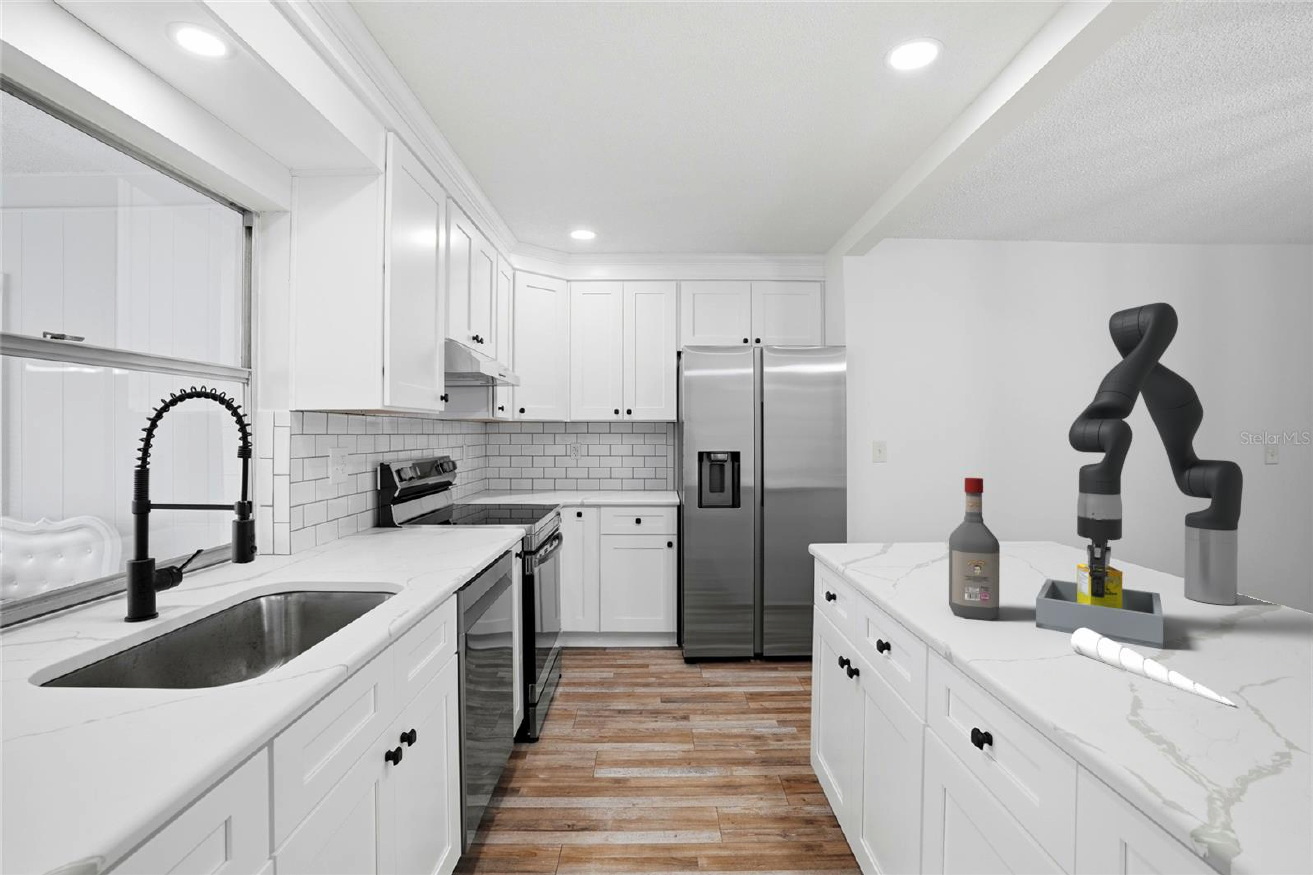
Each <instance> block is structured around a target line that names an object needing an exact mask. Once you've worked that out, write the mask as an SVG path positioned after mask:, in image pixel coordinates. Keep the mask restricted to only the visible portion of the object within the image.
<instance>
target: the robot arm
mask: <svg viewBox="0 0 1313 875" xmlns="http://www.w3.org/2000/svg"><path fill="white" fill-rule="evenodd" d="M1178 326H1179V319H1178V314H1177V312H1176V310H1175V309H1174V306H1172V305H1171V304H1170V303H1167V302H1155V303H1154V302H1153V303H1150V304H1145V305H1140V306H1136V307H1135V306H1134V307H1132V308H1127V309H1123V310H1119V311H1116V312H1114V313H1112V315H1111V317H1109V320H1108V330H1109V334H1110V338H1111V340H1112V343H1113V345H1114V346H1115V348H1116V350H1117V352H1118V353H1119V355H1120V356H1121V358H1122V360H1121V361H1120V362H1119V363H1117V364H1116V365H1115V366H1113V368H1112V369H1111V370H1109V371H1108V373H1106V375H1104V377H1103V378H1102V380H1101V382H1100V384H1099V386H1098V389H1097V390H1096V394H1095V396H1094V398H1093V400H1092V401H1091V402H1090V403H1089V404H1088V406H1086V408H1085V409H1084V410H1083V411H1082V412H1081V413H1080V415H1078V417H1077V418H1076V419H1075V420H1074V421H1073V423H1072V424H1071V426H1070V428H1069V432H1068V441H1069V444H1070V446H1071V447H1072V449H1074V450H1075V451H1077V452H1079V453H1088V454H1089V453H1093V454H1095V453H1097V454H1099V453H1100V454H1105V455H1104V457H1103V458H1102V460H1101V461H1100V462H1097V463H1089V464H1085V465H1082V466H1081V467H1080V468H1079V472H1078V496H1077V497H1078V498H1077V508H1076V509H1077V511H1076V516H1077V517H1076V519H1077V520H1076V533H1077V536H1079V537H1080V538H1085V539H1089V540H1091V544H1087V546H1086V555H1087V564H1088V567H1089V568H1090V572H1089V575H1090V578H1091V595H1092V596H1093V597H1099V598H1104V596H1105V578H1106V574H1105V573H1106V570H1108V569H1109V566H1110V560H1111V559H1110V558H1111V557H1112V546H1109V545H1108V543H1109V541H1120V540H1121V539H1122V538H1123V502H1122V495H1121V493H1122V491H1121V490H1122V488H1121V487H1122V482H1121V481H1122V471H1123V468H1124V464H1125V462H1126V458H1127V455H1128V453H1129V450H1130V448H1131V445H1132V441H1133V430H1132V428H1131V425H1130V424H1129V423H1128V422H1127V421H1125V419H1127V418H1129V416H1130V415H1131V413H1132V412H1133V410H1134V408H1135V406H1136V405H1135V404H1136V402H1137V400H1138V397H1139V395H1140V394H1141V396H1142V399H1143V402H1144V404H1145V407H1146V409H1147V411H1148V413H1149V416H1150V418H1151V420H1152V422H1153V424H1154V425H1155V428H1156V430H1157V433H1158V434H1159V436H1160V439H1161V441H1162V444H1163V446H1164V449H1165V451H1166V455H1167V458H1168V461H1169V465H1170V468H1171V471H1172V475H1173V478H1174V480H1175V484H1176V486H1177V487H1178V489H1179V491H1180V492H1181V494H1183V495H1185V496H1188V497H1192V498H1197V499H1198V498H1199V499H1211V500H1210V505H1209V506H1208V507H1207V508H1205V509H1203V510H1200V511H1193V512H1192V511H1191V512H1189V513H1186V515H1185V518H1184V578H1183V580H1184V581H1183V582H1184V586H1183V588H1184V589H1183V596H1184V597H1185V598H1187V599H1189V600H1193V601H1197V602H1200V603H1201V602H1202V603H1207V604H1214V605H1223V606H1224V605H1226V606H1227V605H1228V606H1229V605H1232V606H1233V605H1236V604H1237V603H1238V549H1239V548H1238V544H1239V543H1238V539H1239V538H1238V534H1239V533H1238V532H1239V530H1238V529H1239V521H1240V518H1241V510H1242V497H1243V496H1242V495H1243V489H1244V488H1243V486H1244V476H1243V471H1242V469H1241V467H1240V465H1239V464H1238V463H1236V462H1235V461H1232V460H1220V459H1200V458H1199V457H1198V456H1197V454H1196V452H1195V450H1194V447H1193V440H1194V438H1195V435H1196V434H1197V432H1198V430H1199V428H1200V426H1201V424H1202V422H1203V419H1204V408H1203V405H1202V404H1201V401H1200V399H1199V398H1200V397H1199V396H1198V394H1197V392H1196V389H1195V388H1194V386H1193V385H1192V383H1191V382H1189V380H1187V379H1185V377H1182V376H1181V375H1180V374H1178V373H1177V372H1175V371H1173V370H1171V369H1170V368H1168V367H1167V366H1166V365H1164V364H1162V363H1161V362H1159V361H1160V359H1161V358H1162V356H1163V355H1164V354H1165V352H1166V350H1167V349H1168V348H1169V346H1170V345H1171V343H1172V341H1173V340H1174V338H1175V336H1176V334H1177V332H1178ZM1094 569H1102V572H1099V571H1094Z"/></svg>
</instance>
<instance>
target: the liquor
mask: <svg viewBox="0 0 1313 875" xmlns="http://www.w3.org/2000/svg"><path fill="white" fill-rule="evenodd" d="M964 493H965V511H964V512H965V515H964V518H963V521H962V522H961V523H960V524H959V525H958V526H957V527H956V528H955V529H954V530H953V531H952V532H951V533H950V536H949V538H948V606H949V608H950V609H951V612H952V614H953V615H954V616H956V617H959V618H963V619H969V620H977V621H978V620H979V621H981V620H982V621H993V620H997V619H998V618H999V616H1000V558H1001V556H1000V555H1001V554H1000V553H1001V552H1000V551H1001V550H1000V549H1001V548H1000V547H1001V546H1000V543H999V539H998V538H997V537H996V536H995V535H994V534H993V533H992V531H991V530H990V529H989V528H988V526H987V525H986V524H985V523H984V518H983V493H984V478H982V477H965V478H964Z"/></svg>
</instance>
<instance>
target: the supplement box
mask: <svg viewBox="0 0 1313 875" xmlns="http://www.w3.org/2000/svg"><path fill="white" fill-rule="evenodd" d="M1076 569H1077V573H1076V575H1077V576H1076V578H1077V580H1076V581H1077V582H1076V583H1077V603H1082V604H1089V605H1096V606H1103V607H1110V608H1117V609H1122V589H1123V570H1122V571H1121V570H1119V569H1117V568H1114V567H1112V566H1110V565H1109V569H1108V570H1106V573H1105V574H1106V578H1105V596H1104V598H1099V597H1093V596H1092V595H1091V578H1090V575H1089V572H1090V568H1089V567H1088V563H1087V564H1086V563H1078V564H1077V568H1076ZM1094 571H1099V572H1102V569H1094Z"/></svg>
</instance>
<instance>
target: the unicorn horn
mask: <svg viewBox="0 0 1313 875" xmlns="http://www.w3.org/2000/svg"><path fill="white" fill-rule="evenodd" d="M1070 644H1071V648H1072V649H1073V651H1074V652H1075V654H1079V655H1081V656H1085V657H1087V658H1090V659H1093V660H1096V661H1098V662H1101V663H1105V664H1107V665H1110V666H1112V667H1115V668H1116V669H1117V668H1118V669H1120V670H1123V671H1128V672H1129V673H1132V674H1135V675H1137V676H1140V677H1142V678H1146V679H1151V680H1152V681H1154V682H1157V683H1161V684H1163V685H1166V686H1168V687H1171V688H1175V689H1177V690H1181V691H1183V692H1187V693H1189V694H1191V695H1195V696H1197V697H1203V698H1205V699H1206V700H1211V701H1214V702H1217V703H1220V704H1225V705H1228V706H1233V707H1237V704H1235V702H1233V701H1231V700H1229V699H1228V698H1226V697H1224V696H1221V695H1220V694H1219V693H1217V692H1215V691H1213V690H1211V688H1208V687H1206V686H1205V685H1203V684H1200V683H1198V682H1196V683H1195V682H1194V680H1193V679H1191V678H1188V677H1187V676H1185V675H1183V674H1181V673H1179V672H1177V671H1175V670H1170V668H1168V667H1167V666H1165V665H1163V664H1161V663H1159V662H1157V661H1155V660H1153V659H1151V658H1147V657H1146V656H1145V655H1142V654H1141V653H1139V652H1137V651H1134V650H1133V649H1131V648H1128V647H1126V646H1124V645H1123V644H1120V643H1119V642H1117V641H1113V640H1110V639H1108V638H1105V637H1104V636H1102V635H1100V634H1098V633H1096V632H1094V631H1092V630H1090V629H1087V628H1080V629H1078V630H1076V631H1075V632H1074V634H1073V633H1072V635H1071V640H1070Z"/></svg>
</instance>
